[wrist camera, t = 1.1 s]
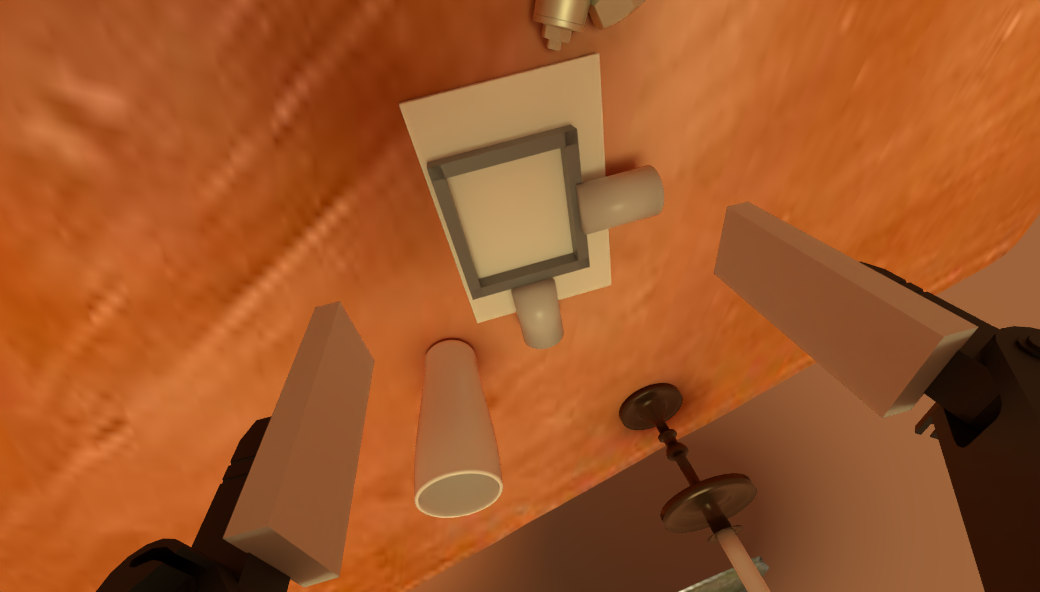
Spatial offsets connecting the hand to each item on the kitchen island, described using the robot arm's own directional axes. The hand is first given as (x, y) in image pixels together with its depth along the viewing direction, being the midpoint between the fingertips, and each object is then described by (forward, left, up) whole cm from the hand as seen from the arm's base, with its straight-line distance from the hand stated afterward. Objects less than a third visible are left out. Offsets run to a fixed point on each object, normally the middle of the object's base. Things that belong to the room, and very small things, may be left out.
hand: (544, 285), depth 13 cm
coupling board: (+7, +4, -19) cm, 21 cm away
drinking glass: (+20, -9, -19) cm, 29 cm away
